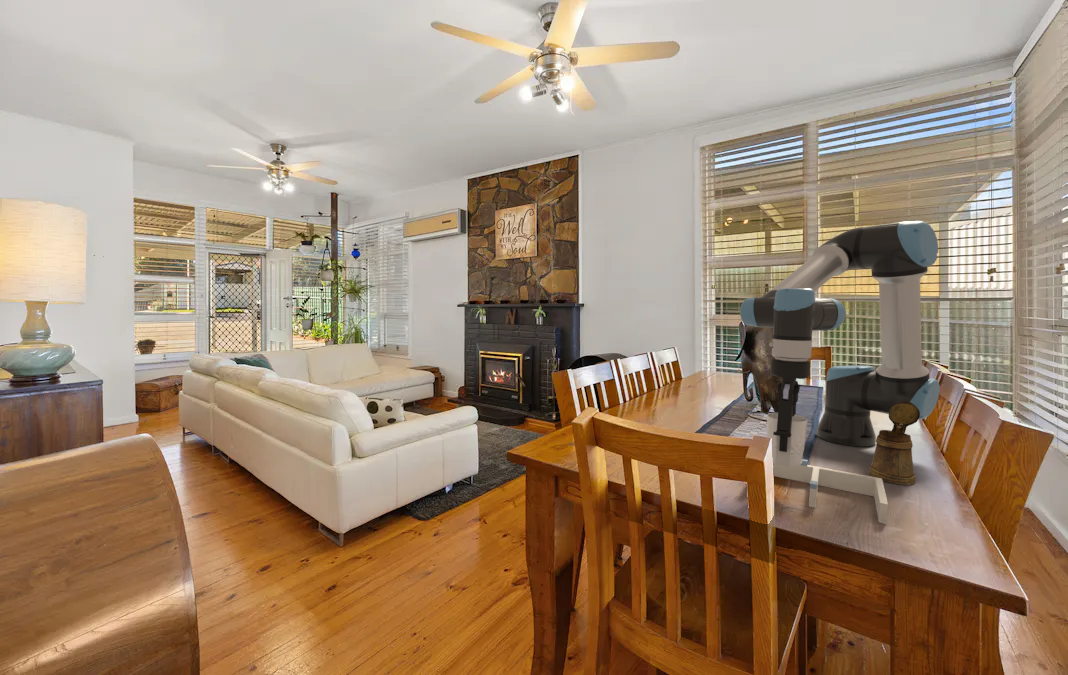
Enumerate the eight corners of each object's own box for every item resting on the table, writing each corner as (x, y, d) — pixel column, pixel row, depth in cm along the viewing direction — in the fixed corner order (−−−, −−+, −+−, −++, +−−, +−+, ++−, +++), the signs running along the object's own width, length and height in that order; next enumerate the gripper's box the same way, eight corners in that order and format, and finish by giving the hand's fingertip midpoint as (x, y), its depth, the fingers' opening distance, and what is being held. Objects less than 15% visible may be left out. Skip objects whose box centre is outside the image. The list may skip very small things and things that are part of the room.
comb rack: (758, 471, 113) (759, 451, 113) (880, 495, 100) (882, 473, 99) (747, 492, 101) (749, 470, 100) (886, 524, 87) (888, 498, 87)
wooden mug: (925, 474, 112) (931, 404, 110) (909, 488, 104) (915, 412, 102) (882, 464, 119) (887, 397, 117) (863, 476, 111) (868, 404, 109)
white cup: (771, 452, 106) (773, 410, 105) (809, 460, 101) (812, 417, 100) (759, 460, 101) (761, 416, 100) (798, 470, 95) (801, 423, 94)
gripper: (776, 352, 109) (771, 444, 111) (765, 362, 92) (759, 469, 94) (813, 355, 105) (806, 450, 107) (807, 365, 88) (800, 478, 90)
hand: (784, 459), depth 101 cm, fingers closed on white cup, 7 cm apart
